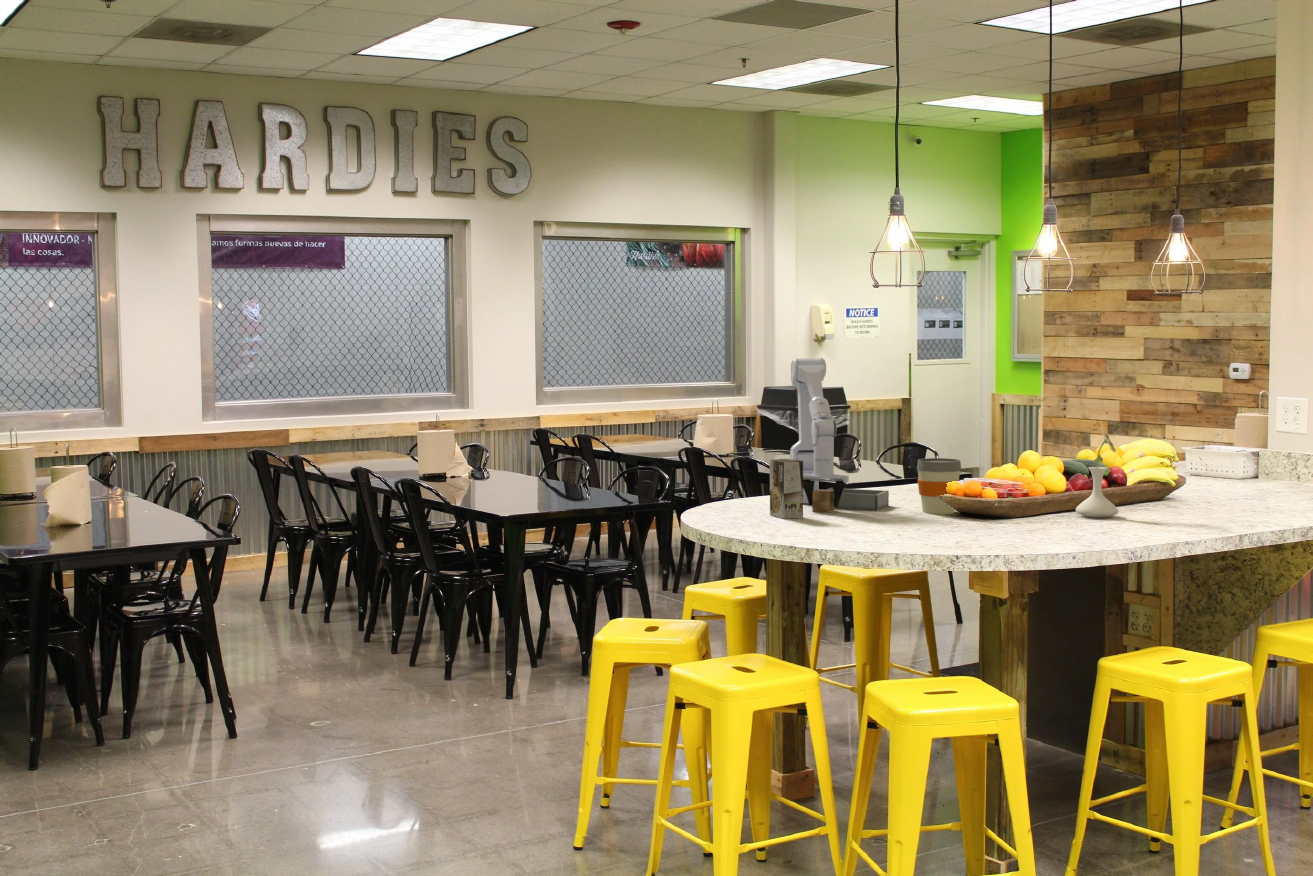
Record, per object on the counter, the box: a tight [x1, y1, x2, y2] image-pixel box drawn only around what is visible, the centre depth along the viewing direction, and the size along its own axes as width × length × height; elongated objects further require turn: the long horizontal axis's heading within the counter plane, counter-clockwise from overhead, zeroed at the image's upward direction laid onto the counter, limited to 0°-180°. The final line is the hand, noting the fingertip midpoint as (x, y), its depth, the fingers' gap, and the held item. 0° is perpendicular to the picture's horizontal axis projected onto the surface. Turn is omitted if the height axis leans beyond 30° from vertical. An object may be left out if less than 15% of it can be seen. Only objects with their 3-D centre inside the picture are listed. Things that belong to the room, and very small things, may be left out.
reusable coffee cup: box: [916, 457, 962, 515], centre depth 389 cm, size 13×13×15 cm
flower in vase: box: [1075, 426, 1119, 518], centre depth 377 cm, size 13×11×25 cm
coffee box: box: [769, 458, 804, 520], centre depth 381 cm, size 9×6×16 cm
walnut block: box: [812, 489, 835, 514], centre depth 393 cm, size 5×5×6 cm
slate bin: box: [826, 487, 890, 511], centre depth 402 cm, size 18×12×4 cm, turn 65°
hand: (823, 506), depth 393 cm, fingers open, 7 cm apart
